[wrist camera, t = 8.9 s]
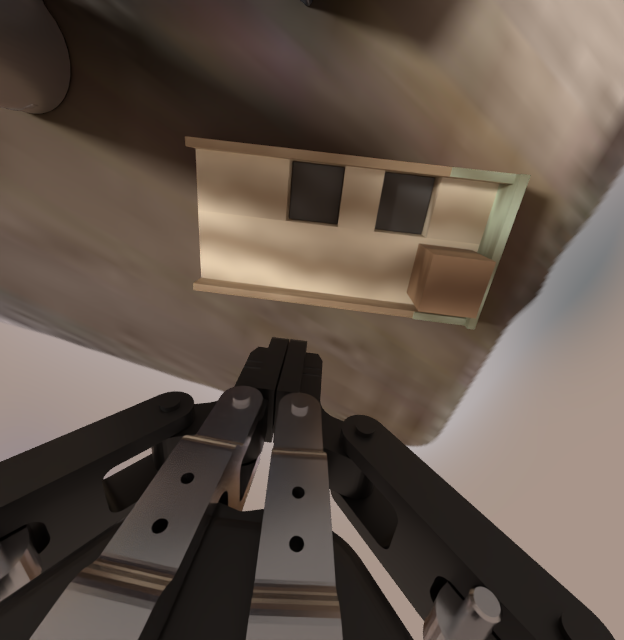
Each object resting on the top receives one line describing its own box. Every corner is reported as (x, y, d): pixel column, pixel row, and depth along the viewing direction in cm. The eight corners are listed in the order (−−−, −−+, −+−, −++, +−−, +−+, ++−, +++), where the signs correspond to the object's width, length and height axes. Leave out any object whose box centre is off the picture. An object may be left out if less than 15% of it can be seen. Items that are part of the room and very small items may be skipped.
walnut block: (418, 243, 29) (433, 254, 25) (471, 249, 29) (496, 262, 25) (406, 292, 31) (418, 311, 27) (455, 298, 31) (475, 318, 27)
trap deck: (204, 142, 29) (179, 134, 24) (499, 176, 28) (530, 175, 24) (208, 278, 34) (189, 293, 30) (455, 309, 34) (474, 329, 29)
